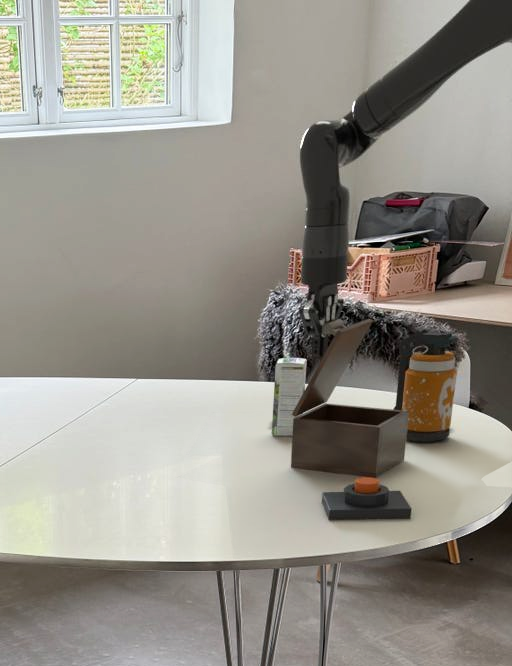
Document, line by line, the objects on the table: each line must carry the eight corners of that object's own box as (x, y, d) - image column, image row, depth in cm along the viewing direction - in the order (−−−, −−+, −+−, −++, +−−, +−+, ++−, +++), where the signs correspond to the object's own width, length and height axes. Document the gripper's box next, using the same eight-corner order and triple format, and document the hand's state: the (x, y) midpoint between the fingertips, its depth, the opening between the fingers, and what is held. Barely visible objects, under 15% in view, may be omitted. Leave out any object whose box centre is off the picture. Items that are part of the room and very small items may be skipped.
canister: (434, 446, 178) (447, 336, 169) (380, 438, 185) (389, 332, 177) (457, 436, 183) (470, 328, 174) (403, 428, 191) (413, 325, 182)
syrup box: (273, 429, 197) (276, 357, 191) (303, 429, 196) (307, 357, 189) (271, 436, 193) (274, 363, 186) (301, 436, 191) (305, 362, 184)
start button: (376, 487, 149) (377, 476, 148) (380, 494, 146) (381, 483, 145) (352, 488, 150) (353, 477, 149) (355, 495, 147) (356, 484, 146)
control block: (399, 500, 152) (401, 479, 151) (410, 519, 144) (412, 497, 143) (321, 502, 154) (323, 481, 153) (328, 520, 146) (330, 498, 145)
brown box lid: (373, 320, 166) (350, 307, 168) (341, 332, 157) (318, 317, 159) (326, 401, 177) (306, 388, 179) (295, 416, 168) (273, 402, 170)
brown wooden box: (404, 460, 172) (409, 410, 168) (375, 478, 163) (380, 427, 159) (321, 449, 181) (325, 403, 177) (290, 467, 173) (293, 418, 169)
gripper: (328, 257, 154) (322, 366, 162) (362, 249, 163) (355, 353, 170) (286, 258, 159) (282, 364, 166) (321, 250, 167) (316, 351, 175)
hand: (319, 358), depth 168 cm, fingers closed
